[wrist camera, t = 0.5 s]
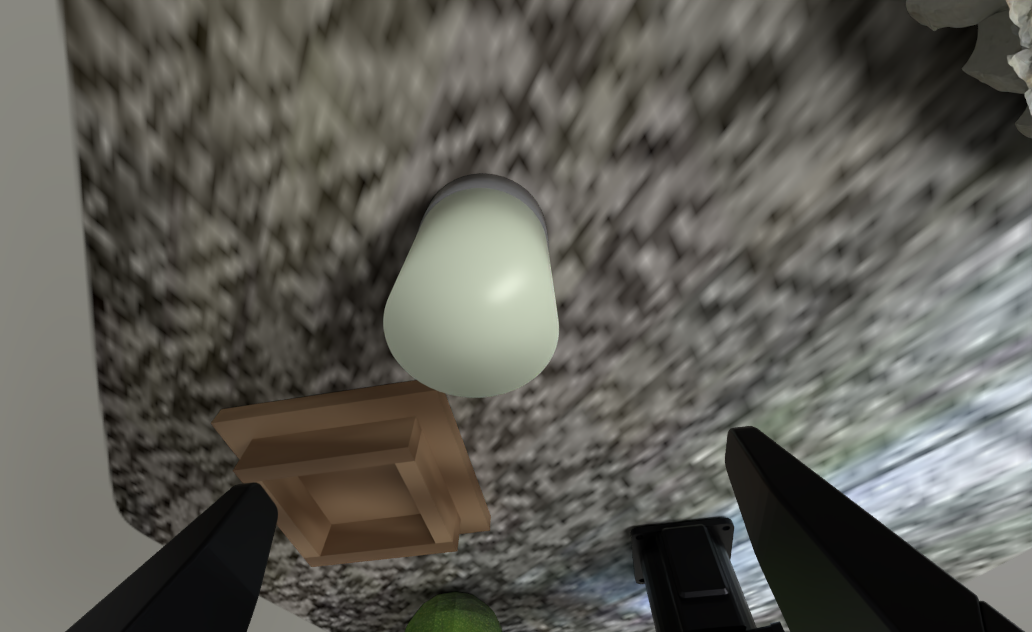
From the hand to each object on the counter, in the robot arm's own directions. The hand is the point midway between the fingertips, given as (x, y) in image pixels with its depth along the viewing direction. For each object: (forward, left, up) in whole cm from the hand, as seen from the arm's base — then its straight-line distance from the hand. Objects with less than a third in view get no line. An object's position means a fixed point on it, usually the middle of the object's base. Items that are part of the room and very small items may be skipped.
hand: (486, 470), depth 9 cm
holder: (-13, +11, -12) cm, 21 cm away
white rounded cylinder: (0, +1, -12) cm, 12 cm away
